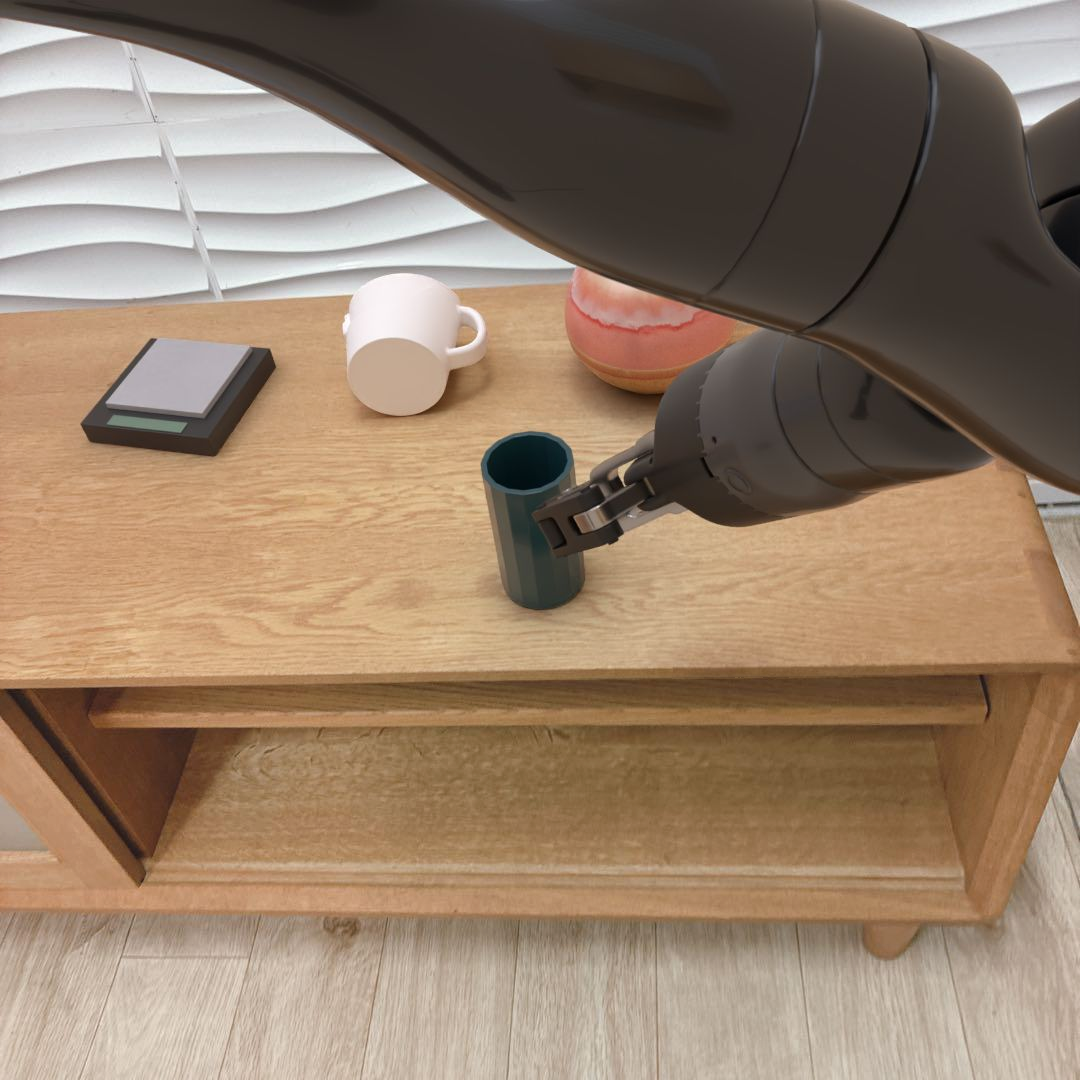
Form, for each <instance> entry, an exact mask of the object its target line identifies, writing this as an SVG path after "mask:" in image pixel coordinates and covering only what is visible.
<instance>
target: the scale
mask: <svg viewBox="0 0 1080 1080" xmlns="http://www.w3.org/2000/svg"><path fill="white" fill-rule="evenodd" d="M276 367H277V365H276V362H275V360H274V356H273V353H272V351H271V348H268V347H259V346H258V347H257V346H252V345H248V344H239V343H238V344H237V343H236V344H235V343H225V342H214V341H204V340H194V339H193V340H191V339H182V338H181V339H180V338H171V337H170V338H168V337H158V338H154V337H150V339H148V341H147V342H146V343H145V345H144V346H143V347H142V348H141V350H139V352H138V353H137V354H136V355H135V356H134V358H133V359H132V360H131V361H130V362H129V364H128V365H127V366H126V368H125V369H124V370H123V371H122V372H121V373H120V375H119V376H118V377H117V379H116V380H115V381H113V383H112V384H111V386H110V387H109V388H108V389H107V390H106V391H105V393H104V394H103V396H101V398H100V399H99V400H98V401H97V402H96V404H95V405H94V406H93V407H92V409H91V410H90V411H89V412H88V414H87V415H86V416H85V417H84V418H83V420H82V421H81V422H80V427H81V428H82V430H83V432H84V434H85V435H86V438H87V440H88V442H91V443H97V444H98V443H100V444H107V445H108V444H109V445H116V446H125V447H131V448H132V447H133V448H142V449H151V450H159V451H167V452H176V453H177V452H178V453H184V454H185V453H186V454H194V455H201V456H202V455H203V456H209V457H216V456H217V454H218V453H219V451H220V449H222V447H223V446H224V444H225V442H226V441H227V439H228V438H229V436H230V435H231V433H232V432H233V430H234V429H235V427H236V426H237V425H238V423H239V422H240V420H241V419H242V417H243V416H244V414H245V413H246V411H247V410H248V409H249V407H250V406H251V404H252V403H253V401H254V400H255V398H256V397H257V395H258V394H259V392H260V391H261V390H262V388H263V387H264V385H265V384H266V382H267V380H268V379H269V378H270V376H271V374H272V373H273V372H274V371H275V369H276Z"/></svg>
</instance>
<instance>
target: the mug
mask: <svg viewBox="0 0 1080 1080" xmlns="http://www.w3.org/2000/svg"><path fill="white" fill-rule="evenodd" d="M461 327H468V328H470V329H473V330H474V332H476V337H475V339H474V340H473V341H472V342H470V343H467V344H466V345H461V346H458V347H456V346H457V342H458V338H459V334H460V331H461ZM342 334H343V338H344V341H345V349H346V350H345V351H346V352H345V353H346V377H347V382H348V386H349V389H350V390H351V393H353V395H354V396H355V397H356V399H358V401H360V403H362V404H363V405H365V406H366V407H368V408H369V409H371V410H373V411H375V412H378V413H381V414H384V415H389V416H394V417H395V416H397V417H403V416H405V417H406V416H412V415H416V414H420V413H422V412H425V411H427V410H428V409H431V407H434V406H435V404H437V403H438V402H439V400H440V399H441V398H442V397H443V395H444V393H445V391H446V388H447V387H446V386H447V383H448V379H449V375H450V371H452V370H457V369H462V368H466V367H470V366H472V365H474V364H477V363H479V362H480V361H481V360H482V359H483V357H485V355H486V353H487V351H488V348H489V337H488V330H487V326H486V321H485V320H484V318H483V316H482V315H481V314H480V312H478V311H477V310H476V309H474V308H472V307H470V306H465V305H464V306H463V304H462V302H461V299H460V298H459V296H458V295H457V293H455V292H454V291H453V290H452V289H450V288H449V287H448V286H447V285H445V284H444V283H442V282H441V281H439V280H437V279H435V278H432V277H430V276H426V275H422V274H419V273H418V274H416V273H409V272H399V273H391V274H386V275H381V276H379V277H376V278H373V279H371V280H368V282H366V283H365V284H363V285H362V286H360V287H359V288H358V289H357V290H356V291H355V293H354V294H353V296H352V297H351V298H350V301H349V305H348V312H347V313H346V314H344V322H342Z"/></svg>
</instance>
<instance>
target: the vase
mask: <svg viewBox="0 0 1080 1080" xmlns="http://www.w3.org/2000/svg"><path fill="white" fill-rule="evenodd" d="M575 266H576V265H575ZM737 322H738V320H735V319H732V318H729V317H725V316H722V315H719V314H715V313H712V312H709V311H705V310H702V309H699V308H695V307H692V306H688V305H685V304H683V303H680V302H675V301H672V300H669V299H666V298H663V297H660V296H656V295H653V294H650V293H647V292H644V291H641V290H638V289H635V288H632V287H629V286H627V285H624V284H621V283H618V282H616V281H613V280H610V279H607V278H604V277H602V276H599V275H597V274H595V273H592V272H590V271H588V270H585V269H583V268H581V267H578V266H576V267H575V268H574V270H573V272H572V275H571V278H570V280H569V282H568V286H567V290H566V295H565V301H564V323H565V324H564V325H565V331H566V335H567V338H568V342H569V343H570V346H571V348H572V350H573V352H574V354H575V355H576V357H577V358H578V359H579V361H580V362H581V363H582V364H583V365H584V367H586V368H587V369H588V370H589V372H591V373H592V374H593V375H595V376H596V377H597V378H599V379H601V380H602V381H603V382H605V383H607V384H609V385H612V386H614V387H616V388H619V389H623V390H625V391H628V392H631V393H635V394H639V395H640V394H641V395H657V394H658V395H659V394H664V393H665V392H666V390H667V388H668V387H669V385H670V384H671V383H672V381H673V380H674V379H675V378H676V377H677V376H678V375H679V374H680V373H681V372H682V371H684V370H685V369H686V368H688V367H689V366H691V365H692V364H694V363H696V362H698V361H700V360H702V359H704V358H706V357H707V356H709V355H711V354H713V353H715V352H717V351H719V350H721V349H723V348H725V347H727V346H728V345H730V344H731V342H732V339H733V338H734V333H735V329H736V326H737Z"/></svg>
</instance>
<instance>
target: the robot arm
mask: <svg viewBox="0 0 1080 1080" xmlns="http://www.w3.org/2000/svg"><path fill="white" fill-rule="evenodd" d="M0 19H1V20H2V19H3V20H8V21H15V22H22V23H26V24H33V25H39V26H43V27H50V28H54V29H55V28H56V29H61V30H67V31H72V32H76V33H82V34H86V35H91V36H95V37H101V38H106V39H111V40H116V41H120V42H124V43H128V44H132V45H135V46H140V47H144V48H147V49H150V50H153V51H157V52H160V53H162V54H166V55H169V56H172V57H175V58H179V59H182V60H185V61H188V62H191V63H194V64H197V65H199V66H202V67H205V68H208V69H210V70H213V71H215V72H219V73H221V74H224V75H225V76H229V77H231V78H234V79H235V80H238V81H240V82H244V83H246V84H248V85H251V86H253V87H255V88H258V89H260V90H262V91H265V92H267V93H269V94H271V95H273V96H274V97H276V98H279V99H281V100H283V101H285V102H287V103H289V104H291V105H293V106H296V107H297V108H299V109H302V110H304V111H305V112H308V113H310V114H312V115H313V116H315V117H317V118H319V119H321V120H323V121H324V122H325V123H328V124H329V125H331V126H333V127H335V128H336V129H338V130H340V131H341V132H344V133H345V134H347V135H349V136H351V137H352V138H355V139H356V140H358V141H359V142H361V143H363V144H365V145H367V146H368V147H370V148H371V149H373V150H375V151H376V152H378V153H380V154H381V155H383V156H384V157H386V158H388V159H389V160H391V161H393V162H394V163H396V164H398V165H399V166H401V167H403V168H404V169H406V170H407V171H408V172H411V173H413V174H414V175H416V177H419V178H421V180H424V181H425V182H427V183H428V184H430V185H432V186H433V187H435V188H436V189H438V190H439V191H441V192H443V193H444V194H446V195H447V196H449V197H450V198H452V199H453V200H454V201H456V202H458V203H460V204H461V205H463V206H464V207H467V208H468V209H469V210H471V211H472V212H473V213H476V214H477V215H479V216H481V217H483V218H484V219H486V220H488V221H489V222H490V223H492V224H494V225H496V226H497V227H499V228H501V229H502V230H505V231H506V232H508V233H509V234H512V235H514V236H516V237H517V238H519V239H521V240H522V241H525V242H527V243H529V244H530V245H532V246H534V247H536V248H538V249H540V250H541V251H544V252H546V253H548V254H551V255H552V256H554V257H556V258H559V259H561V260H563V261H564V262H566V263H569V264H572V265H573V266H578V267H581V268H583V269H585V270H588V271H590V272H592V273H595V274H597V275H599V276H602V277H604V278H607V279H610V280H613V281H616V282H618V283H621V284H624V285H627V286H629V287H632V288H635V289H638V290H641V291H644V292H647V293H650V294H653V295H656V296H660V297H663V298H666V299H669V300H672V301H675V302H680V303H683V304H685V305H688V306H692V307H695V308H699V309H702V310H705V311H709V312H712V313H715V314H719V315H722V316H725V317H729V318H732V319H735V320H737V321H739V322H742V323H745V324H750V325H753V326H756V327H759V329H757V330H755V331H753V332H751V333H750V334H749V333H748V335H746V336H744V337H742V338H740V339H738V340H736V341H734V342H732V343H730V344H729V345H728V346H727V347H725V348H723V349H721V350H719V351H717V352H715V353H713V354H711V355H709V356H707V357H706V358H704V359H702V360H700V361H698V362H696V363H694V364H692V365H691V366H689V367H688V368H686V369H685V370H684V371H682V372H681V373H680V374H679V375H678V376H677V377H676V378H675V379H674V380H673V381H672V383H671V384H670V385H669V387H668V388H667V390H666V392H665V393H663V395H662V398H661V399H660V401H659V404H658V408H657V412H656V415H655V419H654V429H652V430H650V431H648V432H646V433H645V434H644V435H642V436H641V437H639V438H638V439H637V440H636V441H635V443H634V445H633V446H631V447H628V448H626V449H625V450H622V451H621V452H619V453H617V454H615V455H613V456H611V457H609V458H607V459H605V460H604V461H602V462H601V463H599V464H597V465H596V466H594V467H593V468H592V469H591V470H590V472H589V480H587V481H585V482H582V483H581V484H579V485H577V487H575V488H573V489H572V488H571V487H569V488H567V489H565V490H564V491H562V494H560V495H557V496H554V497H552V498H551V499H549V500H547V501H545V502H544V503H543V504H541V505H539V506H538V507H536V508H537V509H538V510H536V511H534V512H533V513H532V516H533V518H534V520H535V521H536V522H537V523H538V525H539V527H540V529H541V530H542V532H543V534H544V536H545V538H546V539H547V541H548V543H549V545H550V547H551V550H552V552H553V554H554V556H555V558H559V557H566V556H568V555H570V554H574V553H578V552H582V551H583V552H585V551H589V550H592V549H597V548H599V547H603V546H605V545H608V546H611V545H614V544H615V543H618V542H619V541H620V539H619V538H620V537H622V536H623V535H625V533H628V532H631V531H634V529H638V528H640V527H641V526H644V525H646V524H648V523H650V522H652V521H654V520H657V519H659V518H661V517H663V516H665V515H667V514H672V515H680V514H682V513H685V512H687V511H690V512H691V513H693V514H695V515H697V516H698V517H699V518H701V519H703V520H704V521H705V520H706V521H707V522H710V523H712V524H715V525H719V526H723V527H728V528H747V527H753V526H758V525H763V524H767V523H768V524H769V523H773V522H777V521H782V520H788V519H792V518H797V517H802V516H806V515H812V514H816V513H820V512H821V513H822V512H827V511H830V510H836V509H839V508H843V507H846V506H850V505H853V504H856V503H858V502H861V501H863V500H865V499H868V498H869V497H871V496H874V495H876V494H879V493H882V492H888V491H892V490H897V489H901V488H907V487H911V486H915V485H919V484H924V483H928V482H933V481H934V482H935V481H939V480H943V479H947V478H951V477H956V476H959V475H963V474H966V473H969V472H972V471H975V470H977V469H980V468H982V467H984V466H986V465H988V464H990V463H991V462H993V461H994V460H996V459H997V460H999V461H1001V462H1003V463H1004V464H1006V465H1007V466H1009V467H1011V468H1012V469H1015V470H1016V471H1018V472H1020V473H1022V474H1024V475H1026V476H1028V477H1030V478H1032V479H1033V480H1035V481H1038V482H1040V483H1042V484H1044V485H1048V486H1050V487H1053V488H1056V489H1058V490H1060V491H1063V492H1066V493H1068V494H1073V495H1075V496H1079V497H1080V97H1078V98H1076V99H1074V100H1072V101H1070V102H1068V103H1067V104H1065V105H1063V106H1061V107H1059V108H1057V109H1056V110H1054V111H1053V112H1050V113H1048V114H1047V115H1046V116H1044V117H1042V119H1040V120H1038V121H1037V122H1036V123H1034V124H1033V125H1031V126H1030V127H1029V128H1028V129H1026V130H1024V125H1023V119H1022V116H1021V112H1020V109H1019V106H1018V103H1017V101H1016V98H1015V96H1014V95H1013V93H1012V91H1011V89H1010V88H1009V87H1008V85H1007V84H1006V82H1005V80H1004V79H1003V78H1002V77H1001V75H1000V74H999V73H998V72H997V71H996V70H995V69H994V68H993V67H992V66H990V65H989V64H988V63H986V62H985V61H984V60H982V59H981V58H979V57H977V56H976V55H973V54H972V53H970V52H969V51H967V50H965V49H964V48H961V47H959V46H957V45H955V44H953V43H951V42H948V41H946V40H945V39H942V38H940V37H938V36H935V35H933V34H931V33H928V32H927V31H923V30H921V29H918V28H916V27H912V26H908V25H907V24H906V23H904V22H901V21H899V20H896V19H894V18H892V17H889V16H887V15H884V14H882V13H879V12H876V11H874V10H872V9H869V8H867V7H864V6H862V5H859V4H857V3H854V2H852V1H850V0H0ZM632 461H633V462H632ZM630 462H632V463H631V464H630V465H629V466H628V467H627V468H626V470H625V471H624V474H623V479H621V477H620V475H619V468H620V467H622V466H625V465H626V464H628V463H630Z"/></svg>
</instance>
